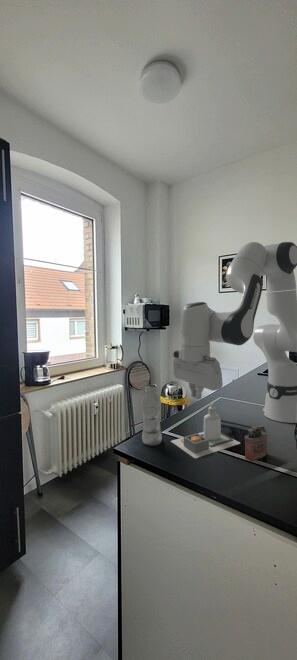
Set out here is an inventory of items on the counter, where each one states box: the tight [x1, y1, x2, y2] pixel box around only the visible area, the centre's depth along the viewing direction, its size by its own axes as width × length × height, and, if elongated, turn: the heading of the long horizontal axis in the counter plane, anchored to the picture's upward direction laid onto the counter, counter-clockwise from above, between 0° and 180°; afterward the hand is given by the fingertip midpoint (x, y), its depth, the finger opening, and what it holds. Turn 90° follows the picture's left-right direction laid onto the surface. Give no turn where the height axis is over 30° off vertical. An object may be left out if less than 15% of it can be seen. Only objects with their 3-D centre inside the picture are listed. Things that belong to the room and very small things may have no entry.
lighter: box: [244, 424, 268, 461], centre depth 81 cm, size 8×3×10 cm, turn 117°
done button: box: [191, 436, 202, 442], centre depth 86 cm, size 3×3×2 cm
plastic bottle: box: [140, 384, 163, 447], centre depth 91 cm, size 6×7×20 cm
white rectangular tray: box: [170, 431, 241, 459], centre depth 90 cm, size 19×13×4 cm
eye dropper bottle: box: [203, 403, 222, 440], centre depth 92 cm, size 4×6×12 cm
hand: (196, 397), depth 86 cm, fingers closed
